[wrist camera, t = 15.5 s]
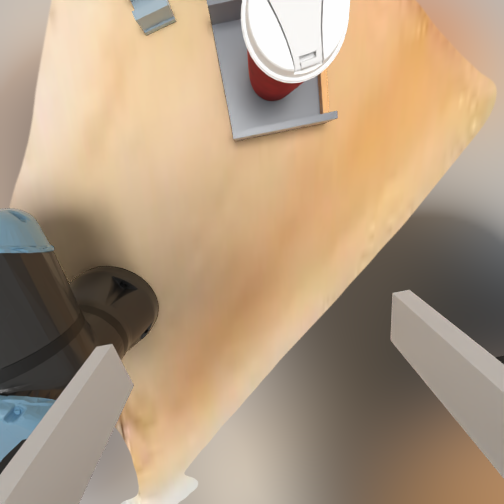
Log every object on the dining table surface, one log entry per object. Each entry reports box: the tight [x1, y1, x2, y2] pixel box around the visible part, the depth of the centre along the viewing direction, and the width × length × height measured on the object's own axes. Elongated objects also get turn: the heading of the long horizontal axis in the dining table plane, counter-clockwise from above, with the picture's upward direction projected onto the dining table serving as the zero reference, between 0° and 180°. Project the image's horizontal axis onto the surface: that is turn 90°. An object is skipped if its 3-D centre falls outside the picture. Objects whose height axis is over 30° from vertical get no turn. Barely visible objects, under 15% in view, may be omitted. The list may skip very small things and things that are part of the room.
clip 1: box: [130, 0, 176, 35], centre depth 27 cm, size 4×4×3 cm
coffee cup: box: [241, 0, 350, 101], centre depth 24 cm, size 8×8×15 cm
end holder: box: [207, 0, 338, 141], centre depth 29 cm, size 13×14×5 cm
